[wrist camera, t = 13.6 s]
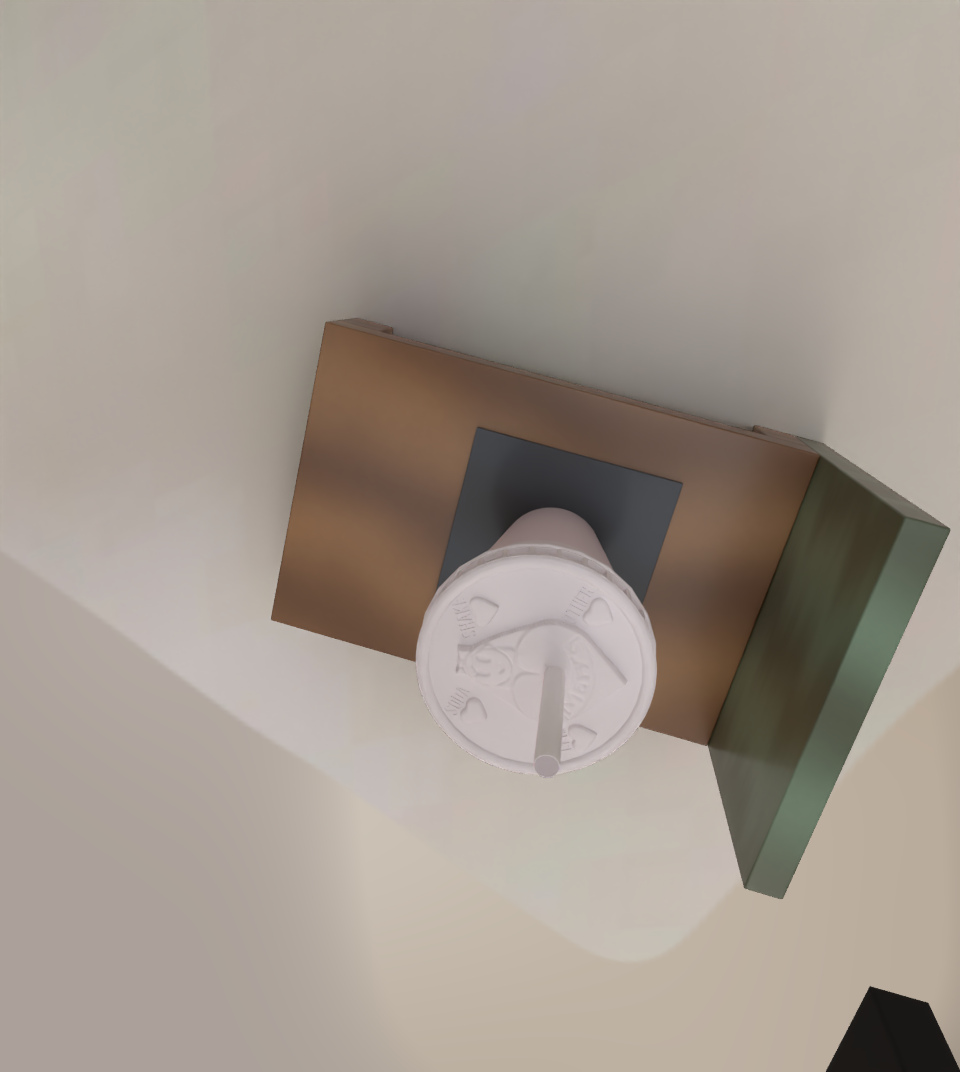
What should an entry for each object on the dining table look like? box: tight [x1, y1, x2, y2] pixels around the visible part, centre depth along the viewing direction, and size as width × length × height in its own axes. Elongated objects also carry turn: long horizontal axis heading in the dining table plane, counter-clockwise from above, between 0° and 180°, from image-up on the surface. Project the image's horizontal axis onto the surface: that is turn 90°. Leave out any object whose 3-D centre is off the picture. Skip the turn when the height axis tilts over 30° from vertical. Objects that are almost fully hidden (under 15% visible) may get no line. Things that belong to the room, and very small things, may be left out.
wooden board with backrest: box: [271, 318, 950, 899], centre depth 29 cm, size 12×19×12 cm, turn 76°
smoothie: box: [416, 507, 657, 778], centre depth 24 cm, size 6×6×14 cm
